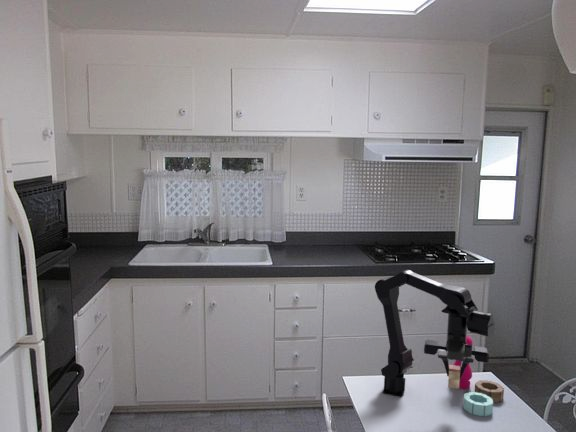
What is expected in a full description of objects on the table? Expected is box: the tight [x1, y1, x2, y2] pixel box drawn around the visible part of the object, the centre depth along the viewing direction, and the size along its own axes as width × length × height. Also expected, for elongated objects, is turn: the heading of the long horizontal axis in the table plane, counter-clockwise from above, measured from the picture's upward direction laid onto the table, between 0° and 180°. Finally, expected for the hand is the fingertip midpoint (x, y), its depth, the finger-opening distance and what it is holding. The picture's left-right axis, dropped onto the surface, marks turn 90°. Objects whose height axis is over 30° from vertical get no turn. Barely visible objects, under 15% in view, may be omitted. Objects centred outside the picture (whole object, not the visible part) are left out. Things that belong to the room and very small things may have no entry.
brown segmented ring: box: [474, 379, 505, 403], centre depth 162 cm, size 9×9×4 cm
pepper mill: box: [452, 335, 474, 390], centre depth 168 cm, size 7×7×20 cm
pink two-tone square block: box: [447, 364, 460, 389], centre depth 148 cm, size 3×3×6 cm
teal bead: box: [462, 391, 494, 417], centre depth 153 cm, size 9×9×4 cm
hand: (454, 376), depth 148 cm, fingers closed on pink two-tone square block, 3 cm apart
